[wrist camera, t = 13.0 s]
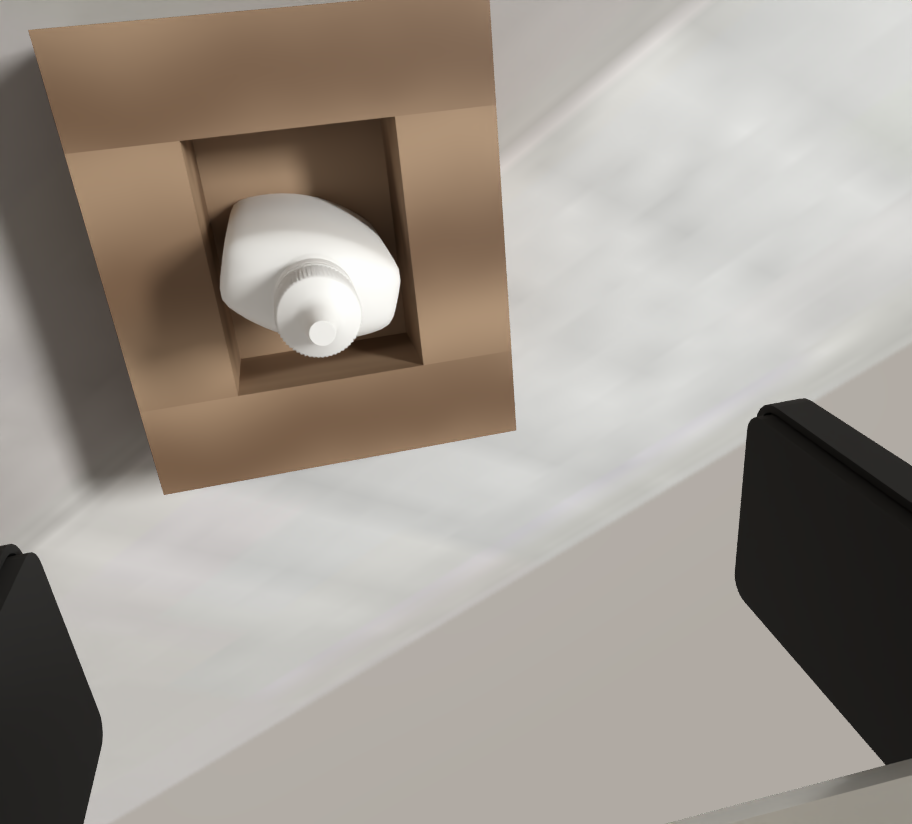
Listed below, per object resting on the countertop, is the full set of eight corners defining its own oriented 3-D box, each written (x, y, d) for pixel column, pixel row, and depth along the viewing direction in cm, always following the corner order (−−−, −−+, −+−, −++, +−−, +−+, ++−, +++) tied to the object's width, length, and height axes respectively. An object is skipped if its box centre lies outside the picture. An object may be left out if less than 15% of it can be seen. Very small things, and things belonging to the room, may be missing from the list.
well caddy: (66, 33, 27) (28, 30, 23) (455, -2, 30) (488, -12, 25) (176, 438, 34) (164, 494, 30) (485, 384, 37) (516, 430, 32)
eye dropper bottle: (325, 321, 33) (355, 450, 22) (208, 236, 30) (178, 335, 20) (391, 239, 32) (456, 332, 21) (276, 145, 29) (284, 196, 19)
